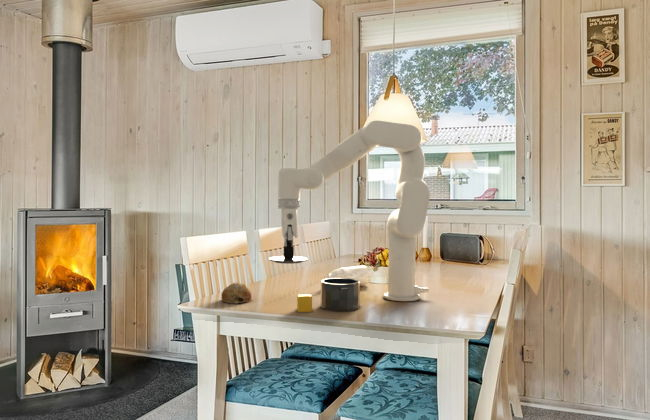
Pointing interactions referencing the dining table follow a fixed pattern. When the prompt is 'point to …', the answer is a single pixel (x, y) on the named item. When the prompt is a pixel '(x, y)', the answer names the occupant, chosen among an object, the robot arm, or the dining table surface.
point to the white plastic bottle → (352, 274)
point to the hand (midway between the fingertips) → (288, 257)
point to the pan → (340, 294)
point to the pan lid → (288, 261)
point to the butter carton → (304, 303)
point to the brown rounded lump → (236, 293)
